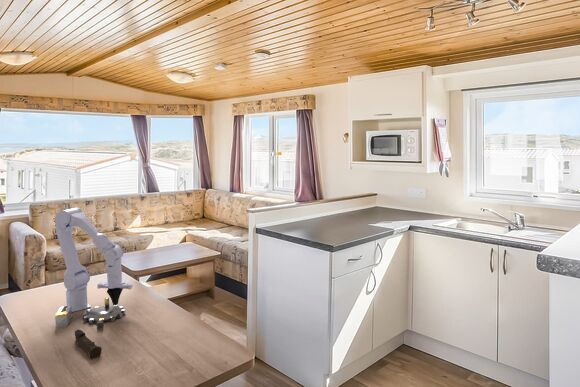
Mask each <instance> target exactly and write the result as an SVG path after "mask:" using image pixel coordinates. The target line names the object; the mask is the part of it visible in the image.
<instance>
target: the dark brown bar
mask: <svg viewBox="0 0 580 387" xmlns="http://www.w3.org/2000/svg"><path fill="white" fill-rule="evenodd" d="M74 337H75V342H76V344H77V346H80V347H81V348H82V349H83V350H84V351H85V352H86V353H87V354H88V355H89V359H91V360H93V359H97V358H99V357H101V355H102V351H103V350H102V349H103V348H102V346H98V345H97V344H96V343H95V341H92V340H91V339H90V338H89V337H87V335H86V333H85V332H84V331H83V330H81V329H80V328H79V329H78V328H77V329H76V330H74Z"/></svg>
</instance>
